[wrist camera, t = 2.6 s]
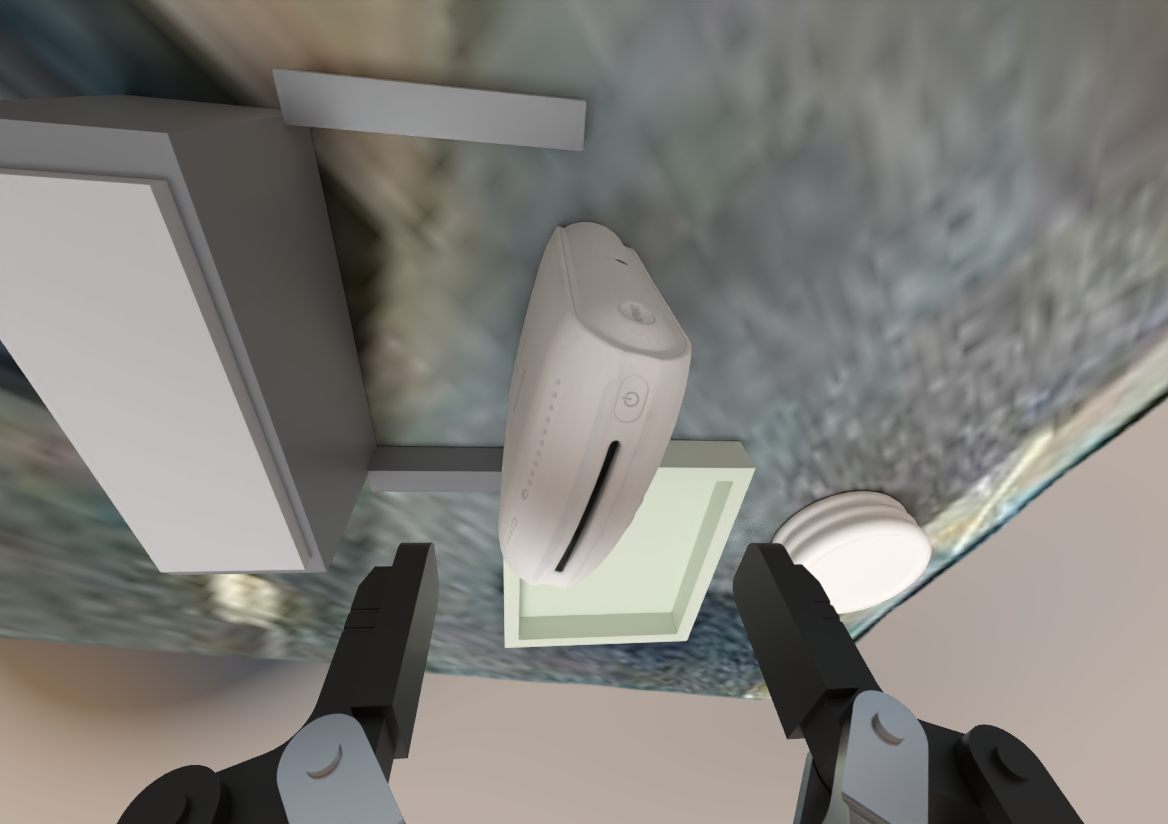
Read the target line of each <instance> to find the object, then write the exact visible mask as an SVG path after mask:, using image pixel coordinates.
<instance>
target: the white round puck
mask: <svg viewBox="0 0 1168 824" xmlns="http://www.w3.org/2000/svg"><path fill="white" fill-rule="evenodd" d="M771 543H780V544H782V545H783V546H784V547H785V548H786V550H787V552H788V554H789V556H790V558H791V559H792V561H793V563H794V564H802V565H803V566H804V567H805V568H806V569H807V570H808V571H809V572H810V573H811V574H812V575H813V576H814V577H815V578H816V579H817V580H818V581H819V582H820V584H821V585H822V587H823V589H824V591H825V592H826V594H827V596H828V598H829V599H830V604H831V605H833V607H834V608H835V610H836V612H837V614H842V613H849V612H854V611H858V610H862V609H865V608H868V607H871V606H874V605H877V604H879V603H881V602H884V601H886V600H888V599H890V598H892V597H893V596H895V595H897V594H898V593H900V592H902V591H903V590H904V589H906V588H907V587H908V586H910V585H911V584H912V583H913V582H914V581H915V580H916V579H917V578H918V577H919V576H920V575H921V574H922V573H923V571H924V570H925V568H926V566H927V564H928V562H929V559H930V556H931V543H930V540H929V537H928V536H927V534H926V532H925V531H924V530H923V529H922V528H921V527H919V526H918V525H917V523H916V521H915V520H914V518H913V517H912V516H911V515H910V514H908V513H907V511H906V510H905V508H904V507H903V506H902V505H901V504H900V503H899V502H898V501H896V500H895V499H893V498H891V497H890V496H888V495H885V494H882V493H878V492H871V491H855V492H847V493H842V494H837V495H834V496H830V497H827V498H825V499H822V500H819V501H817V502H815V503H813V504H811V505H809V506H807V507H806V508H804V509H802V510H801V511H799V512H798V513H796V514H795V515H794V516H792V517H791V518H790V519H789V520H788V521H787V522H786V523H784V525H783V526H782V527H781V528H780V529H779V530H778V532H777V533H776V535H775V536H774V538H773V540H772V542H771Z"/></svg>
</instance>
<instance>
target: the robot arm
mask: <svg viewBox="0 0 1168 824" xmlns="http://www.w3.org/2000/svg"><path fill="white" fill-rule="evenodd" d="M438 594H439V579H438V572H437V564H436V557H435V549H434V544H433V543H401V544H400V545H399V547H398V549H397V552H396V556H395V559H394V562H393V566H387V567H374V568H373V570H372V571H371V572H370V573H369V574H368V576H367V577H366V578H365V579H364V580H363V582H362V583H361V584H360V585H359V587H358V589H357V592H356V595H355V598H354V601H353V603H352V606H351V611H350V613H349V615H348V617H347V620H346V623H345V626H344V631H343V632H342V634H341V637H340V640H339V643H338V645H337V648H336V651H335V654H334V657H333V659H332V662H331V665H330V668H329V671H328V673H327V676H326V679H325V682H324V685H323V688H322V690H321V693H320V696H319V699H318V701H317V704H316V706H315V709H314V710H313V712H312V714H311V716H310V717H309V719H308V720H307V721H306V723H305V724H304V725H303V727H302V728H301V729H300V730H299V731H298V732H297V733H296V734H295V735H294V736H293V737H291V738H290V739H289V740H288V741H286V742H285V743H284V744H282V745H281V746H279V747H277V748H276V749H274V750H272V751H270V752H267V753H265V754H263V755H260V756H258V757H255V758H252V759H250V760H247V761H245V762H242V763H239V764H237V765H234V766H232V767H229V768H227V769H224V770H221V771H219V772H216V773H215V772H214V771H213V770H212V769H210V768H208V767H205V766H201V765H189V766H184V767H181V768H178V769H175V770H173V771H171V772H169V773H166V774H164V775H163V776H162V777H160V778H158V779H157V780H155V781H154V782H153V783H151V784H150V785H149V786H147V787H146V788H145V789H144V790H143V791H142V792H141V793H140V794H139V795H138V796H137V797H136V798H135V799H134V800H133V801H132V802H131V803H130V805H129V806H128V807H127V809H126V810H125V812H124V813H123V814H122V816H121V818H120V819H119V821H118V823H117V824H406V823H405V821H404V818H403V816H402V814H401V812H400V810H399V808H398V805H397V803H396V801H395V799H394V797H393V794H392V792H391V790H390V788H389V785H388V782H389V777H390V773H391V768H392V763H393V759H400V758H408V754H409V749H410V744H411V738H412V733H413V728H414V723H415V718H416V713H417V707H418V702H419V696H420V692H421V687H422V681H423V676H424V671H425V666H426V661H427V656H428V651H429V645H430V640H431V635H432V630H433V625H434V619H435V614H436V609H437V603H438ZM733 596H734V600H735V603H736V606H737V609H738V611H739V614H740V617H741V619H742V622H743V624H744V627H745V630H746V632H747V635H748V638H749V640H750V643H751V645H752V648H753V651H754V653H755V656H756V659H757V661H758V664H759V666H760V669H761V672H762V674H763V677H764V680H765V682H766V685H767V687H768V690H769V693H770V695H771V698H772V700H773V703H774V706H775V708H776V711H777V714H778V716H779V719H780V722H781V724H782V727H783V729H784V732H785V735H786V737H787V739H800V738H805V740H806V742H807V745H808V747H809V750H810V751H809V753H808V754H807V758H806V762H805V767H804V772H803V777H802V782H801V787H800V792H799V797H798V802H797V807H796V811H795V817H794V822H793V824H1084V823H1083V821H1082V820H1081V819H1080V817H1079V816H1078V814H1077V813H1076V811H1075V810H1074V809H1073V807H1072V806H1071V804H1070V803H1069V801H1068V800H1067V798H1066V797H1065V796H1064V794H1063V793H1062V791H1061V790H1060V788H1059V787H1058V786H1057V784H1056V783H1055V781H1054V780H1053V778H1052V777H1051V775H1050V774H1049V773H1048V771H1047V770H1046V768H1045V767H1044V765H1043V764H1042V763H1041V761H1040V760H1039V759H1038V757H1037V756H1036V755H1035V754H1034V753H1033V752H1032V751H1031V750H1030V749H1029V748H1028V747H1027V746H1026V745H1025V744H1024V743H1022V742H1021V741H1020V740H1019V739H1017V738H1016V737H1015V736H1013V735H1012V734H1010V733H1008V732H1006V731H1005V730H1003V729H1000V728H998V727H995V726H991V725H978V726H975V727H974V728H973V729H971V730H970V731H969V732H968V733H966V734H963V733H960V732H957V731H953V730H950V729H947V728H944V727H940V726H937V725H934V724H931V723H928V722H925V721H922V720H919V719H917V718H916V717H915V716H914V715H913V714H912V713H911V711H910V710H909V709H908V708H907V707H906V706H905V705H903V704H902V703H901V702H900V701H898V700H897V699H895V698H894V697H892V696H890V695H888V694H885V693H884V692H883V691H882V690H881V688H880V687H879V685H878V684H877V682H876V681H875V679H874V677H873V675H872V674H871V672H870V670H869V668H868V667H867V665H866V663H865V661H864V660H863V658H862V656H861V655H860V652H859V651H858V649H857V647H856V645H855V644H854V642H853V640H852V638H851V637H850V635H849V633H848V631H847V629H846V628H845V626H844V624H843V622H840V619H839V618H840V617H839V615H838V614H837V612H836V610H835V608H834V607H833V605H831V604H830V599H829V598H828V596H827V594H826V592H825V591H824V589H823V587H822V585H821V584H820V582H819V581H818V580H817V579H816V578H815V577H814V576H813V575H812V574H811V573H810V572H809V571H808V570H807V569H806V568H805V567H804V566H803V565H802V564H794V563H793V561H792V559H791V558H790V556H789V554H788V552H787V550H786V548H785V547H784V546H783V545H782V544H780V543H751V544H749V545H748V547H747V549H746V551H745V554H744V556H743V558H742V561H741V563H740V565H739V567H738V570H737V572H736V574H735V577H734V580H733Z"/></svg>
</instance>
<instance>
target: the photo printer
mask: <svg viewBox="0 0 1168 824" xmlns="http://www.w3.org/2000/svg"><path fill="white" fill-rule="evenodd" d="M690 360H691V343H690V341H689V339H688V337H687V335H686V334H685V332H684V331H683V329H682V327H681V326H680V324H679V323H678V321H677V319H676V318H675V316H674V315H673V313H672V311H671V310H670V308H669V306H668V305H667V303H666V302H665V300H664V298H663V297H662V295H661V293H660V292H659V290H658V289H657V287H656V285H655V284H654V282H653V281H652V279H651V277H650V275H649V274H648V272H647V270H646V269H645V267H644V265H643V264H642V262H641V260H640V259H639V257H638V255H637V254H636V252H635V251H634V250H633V249H632V248H629V247H626V246H624V245H623V243H622V242H621V240H620V239H619V238H618V236H617V235H616V234H615V233H614V232H613V231H611V230H610V229H608V228H607V227H605V226H603V225H600V224H597V223H593V222H578V223H574V224H570V225H568V226H566V227H565V228H562V227H560V226H557V227H556V228H555V230H554V232H553V234H552V236H551V238H550V240H549V242H548V244H547V246H546V249H545V251H544V254H543V257H542V260H541V263H540V266H539V270H538V273H537V276H536V280H535V283H534V287H533V290H532V294H531V297H530V301H529V305H528V309H527V313H526V317H525V321H524V325H523V329H522V333H521V337H520V341H519V345H518V350H517V354H516V358H515V363H514V368H513V373H512V378H511V383H510V390H509V398H508V408H507V419H506V431H505V444H504V457H503V471H502V484H501V497H500V510H499V524H498V530H499V542H500V548H501V551H502V554H503V557H504V559H505V561H506V562H507V564H508V565H509V567H510V568H511V569H512V571H513V572H514V573H515V574H516V575H517V576H519V577H520V578H521V579H522V580H524V581H525V582H527V583H528V584H530V585H532V586H534V585H541V584H548V585H553V586H555V587H558V588H560V589H567V588H570V587H571V586H573V585H575V584H577V583H578V582H580V581H581V580H583V579H584V578H586V577H587V576H588V575H589V574H590V573H592V572H593V571H594V570H595V569H596V568H597V567H598V566H599V565H600V564H601V563H602V562H603V561H604V560H605V558H606V557H607V556H608V555H609V554H610V552H611V551H612V550H613V549H614V547H615V546H616V544H617V543H618V541H619V540H620V538H621V537H622V535H623V534H624V532H625V531H626V529H627V528H628V527H629V526H630V524H631V523H632V521H633V519H634V516H635V513H636V512H637V511H638V509H639V507H640V506H641V504H642V502H643V499H644V496H645V494H646V492H647V490H648V488H649V486H650V484H651V482H652V480H653V478H654V476H655V474H656V472H657V469H658V467H659V465H660V463H661V460H662V458H663V455H664V453H665V451H666V449H667V446H668V444H669V441H670V438H671V436H672V433H673V430H674V427H675V425H676V422H677V419H678V416H679V411H680V408H681V404H682V401H683V397H684V393H685V389H686V384H687V380H688V375H689V368H690Z"/></svg>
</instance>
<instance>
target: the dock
mask: <svg viewBox="0 0 1168 824" xmlns="http://www.w3.org/2000/svg"><path fill="white" fill-rule="evenodd" d="M272 73H273V77H274V82H275V86H276V90H277V94H278V99H279V103H280V107H281V109H270V108H259V107H249V106H238V105H228V104H217V103H206V102H196V101H185V100H174V99H164V98H153V97H142V96H132V95H105V96H81V97H58V98H35V99H12V100H0V340H1V341H2V343H3V344H4V345H5V347H6V348H7V350H8V351H9V353H10V354H11V356H12V357H13V359H14V360H15V361H16V363H17V364H18V366H19V367H20V369H21V370H22V372H23V373H24V374H25V376H26V377H27V379H28V380H29V382H30V383H31V385H32V386H33V388H34V389H35V390H36V392H37V393H38V395H39V396H40V398H41V399H42V401H43V402H44V404H45V405H46V406H47V408H48V409H49V411H50V412H51V414H52V415H53V417H54V418H55V419H56V421H57V422H58V424H59V425H60V427H61V428H62V430H63V431H64V433H65V434H66V435H67V437H68V438H69V440H70V441H71V443H72V444H73V446H74V447H75V448H76V450H77V451H78V453H79V454H80V456H81V457H82V459H83V460H84V462H85V463H86V464H87V466H88V467H89V469H90V470H91V472H92V473H93V475H94V476H95V478H96V479H97V480H98V482H99V483H100V485H101V486H102V488H103V489H104V491H105V492H106V493H107V495H108V496H109V498H110V499H111V501H112V502H113V504H114V505H115V507H116V508H117V509H118V511H119V512H120V514H121V515H122V517H123V518H124V520H125V521H126V522H127V524H128V525H129V527H130V528H131V530H132V531H133V533H134V534H135V536H136V537H137V538H138V540H139V541H140V543H141V544H142V546H143V547H144V549H145V550H146V552H147V553H148V554H149V556H150V557H151V559H152V560H153V562H154V563H155V565H156V566H157V567H158V569H159V570H160V572H168V573H169V574H170V575H199V574H253V573H308V572H327V570H328V568H329V565H330V563H331V561H332V558H333V556H334V553H335V551H336V549H337V546H338V544H339V541H340V539H341V537H342V534H343V532H344V530H345V527H346V525H347V522H348V520H349V518H350V515H351V513H352V510H353V508H354V506H355V503H356V501H357V498H358V496H359V494H360V491H361V489H362V487H363V484H364V482H365V479H366V477H367V475H368V478H369V482H370V487H371V491H387V492H501V484H502V462H503V450H504V448H467V447H388V446H377V443H376V439H375V434H374V429H373V424H372V420H371V415H370V410H369V406H368V401H367V396H366V391H365V387H364V382H363V377H362V372H361V368H360V363H359V358H358V354H357V349H356V344H355V339H354V335H353V330H352V325H351V320H350V316H349V311H348V306H347V302H346V297H345V292H344V287H343V283H342V278H341V273H340V269H339V264H338V259H337V254H336V250H335V245H334V240H333V235H332V231H331V226H330V221H329V217H328V212H327V207H326V202H325V198H324V193H323V188H322V183H321V179H320V174H319V169H318V165H317V160H316V155H315V150H314V146H313V141H312V136H311V131H310V127H319V128H330V129H341V130H352V131H363V132H374V133H385V134H396V135H407V136H418V137H429V138H441V139H452V140H463V141H474V142H485V143H496V144H507V145H518V146H529V147H540V148H551V149H562V150H573V151H583V144H584V131H585V118H586V105H587V101H585V100H583V99H575V98H566V97H556V96H546V95H537V94H527V93H517V92H508V91H498V90H489V89H479V88H469V87H460V86H450V85H441V84H431V83H421V82H412V81H402V80H393V79H383V78H373V77H364V76H354V75H344V74H335V73H325V72H316V71H306V70H294V69H272Z"/></svg>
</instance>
